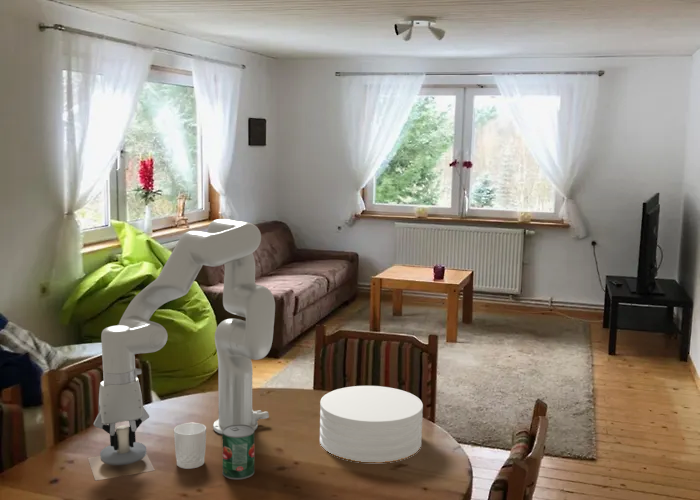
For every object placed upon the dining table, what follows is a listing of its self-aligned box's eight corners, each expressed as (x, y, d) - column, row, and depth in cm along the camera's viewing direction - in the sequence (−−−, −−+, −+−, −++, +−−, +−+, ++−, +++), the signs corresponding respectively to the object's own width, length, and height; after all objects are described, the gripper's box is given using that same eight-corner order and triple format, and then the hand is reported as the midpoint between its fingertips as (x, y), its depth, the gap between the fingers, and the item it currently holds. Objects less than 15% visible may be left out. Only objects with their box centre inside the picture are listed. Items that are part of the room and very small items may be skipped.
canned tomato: (260, 473, 185) (261, 431, 183) (233, 482, 179) (233, 439, 178) (243, 462, 190) (243, 421, 189) (216, 471, 185) (216, 429, 184)
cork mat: (144, 452, 195) (144, 448, 195) (155, 474, 183) (155, 470, 183) (87, 461, 189) (87, 457, 189) (95, 484, 177) (95, 480, 177)
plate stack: (399, 419, 223) (400, 382, 221) (437, 457, 197) (439, 416, 195) (308, 428, 215) (309, 389, 213) (336, 469, 188) (337, 426, 187)
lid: (141, 442, 193) (140, 416, 192) (150, 459, 184) (149, 432, 183) (97, 450, 189) (95, 424, 187) (104, 468, 179) (102, 440, 178)
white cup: (198, 474, 183) (198, 436, 182) (169, 471, 185) (168, 432, 183) (211, 461, 191) (211, 424, 189) (182, 458, 192) (182, 421, 191)
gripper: (150, 367, 190) (153, 435, 193) (82, 376, 183) (86, 447, 186) (156, 376, 183) (159, 446, 186) (86, 386, 176) (90, 459, 179)
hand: (123, 446), depth 186 cm, fingers closed on lid, 3 cm apart
